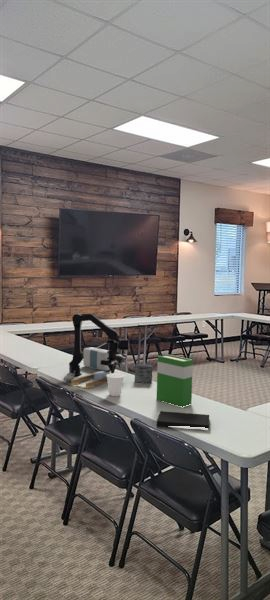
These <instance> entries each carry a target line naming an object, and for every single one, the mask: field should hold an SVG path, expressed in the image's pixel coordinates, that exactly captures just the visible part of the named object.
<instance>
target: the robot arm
mask: <svg viewBox="0 0 270 600" xmlns="http://www.w3.org/2000/svg"><path fill="white" fill-rule="evenodd" d="M71 320H72V324H73V328H74V332H73V333H74V350H73V355H72V360H71V361H70V362H69V363H68V365H69V366H68V369H69V371H68V373H73V374H74V371H75V374H76V375H74V377H79V376H81V375H82V373H81V366H80V364H81V363H82V361H83V358H84V355H83V354H84V350H83V351H82V324H83V322H85V321H90V322H91V323H93V324H94V325H95V326H97V327H98V328H99V329H100V330H102V331H103V332H104V334H105V335H106V336H107V338H108V339H107V340H106V341H105V343H106V344H108V350H109V351H107V353H109V356H108V357H107V359H109V360H107V359H104V360H101V362H100V364H101V365H107V366H108V367H109V369H110V370H109V371H110V374H112V373H115V370H116V367H117V366H118V365H119V364H122V363H125V360H127V354H125V353H123V354H121V353H120V351H129V350H130V339H122V338H121V337H120V336H119V331H118V330H116V329H114V328H112V327H111V326H109V325H107V324H105V322H103V321H102V320H101V319H100V318H99V317H97V316H96V315H95V314H94V313H80V312H78V313H77V312H76V313H75V314H74V315H73V316H72V319H71ZM119 350H120V351H119Z"/></svg>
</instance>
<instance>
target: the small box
mask: <svg viewBox="0 0 270 600" xmlns="http://www.w3.org/2000/svg"><path fill="white" fill-rule="evenodd" d="M152 382H153V364H139V363H138V364H137V363H136V364H135V365H134V383H135V384H152ZM134 383H133V384H134Z"/></svg>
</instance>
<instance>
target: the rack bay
mask: <svg viewBox="0 0 270 600" xmlns="http://www.w3.org/2000/svg"><path fill="white" fill-rule="evenodd" d="M94 373H95V372H94ZM94 373H90V374H86V375H84V376H78V377H76V378H74V379H72V380H71V383H69V386H72V387H76V388H81V389H84V388H85V390H88V388H89V389H92V388H93V387H94V386H95V387H98V386H100V384H101V385H103V384H108V381H107V377H104V378H101V379H98V380H94ZM91 379H92V381H91ZM87 381H88V382H87ZM81 382H82V383H84V382H85V386H81V385H78V383H79V384H82V383H81ZM75 384H76V385H75ZM97 385H98V386H97ZM91 387H92V388H91ZM95 387H94V388H95Z"/></svg>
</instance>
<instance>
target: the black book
mask: <svg viewBox="0 0 270 600" xmlns="http://www.w3.org/2000/svg"><path fill="white" fill-rule="evenodd" d="M168 426H190V427H205V428H209V429H210V414H203V413H191V412H190V413H189V412H179V411H177V412H175V411H165V410H160V411H159V414H158V417H157V419H156V427H157V428H158V427H159V428H167V429H168Z"/></svg>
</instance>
